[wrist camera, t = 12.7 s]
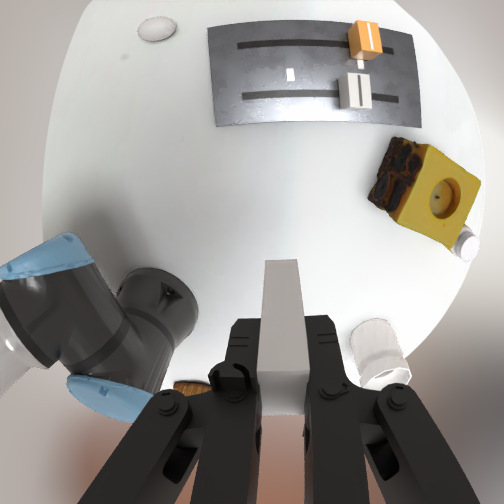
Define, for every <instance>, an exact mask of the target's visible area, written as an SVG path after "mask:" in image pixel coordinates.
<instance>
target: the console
mask: <svg viewBox="0 0 504 504" xmlns="http://www.w3.org/2000/svg"><path fill="white" fill-rule="evenodd" d="M352 25H353V24H352V23H343V22H332V21H316V20H273V21H257V22H246V23H237V24H229V25H222V26H215V27H210V28H207V29H208V42H209V55H210V66H211V78H212V89H213V100H214V110H215V120H216V127H217V126H227V125H237V124H248V123H261V122H278V121H350V122H367V123H380V124H390V125H399V126H408V127H415V128H421V103H420V89H419V79H418V70H417V62H416V55H415V49H414V43H413V38H412V35H411V34H407V33H403V32H398V31H394V30H389V29H384V28H379V27H378V28H379V33H380V39H381V45H382V52H383V53H382V54H380V55H378V56H376V57H375V58H373V59H371V60H363V59H354V58H351V54H350V46H349V39H348V33H347V31H348V30H349V29H350V28H351V26H352ZM346 73H359V74H368V75H369V77H370V87H371V101H372V109H366V110H348V109H340V95H339V83H338V78H340V77H341V76H343V75H344V74H346Z"/></svg>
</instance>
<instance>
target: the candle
mask: <svg viewBox="0 0 504 504" xmlns="http://www.w3.org/2000/svg"><path fill="white" fill-rule="evenodd" d="M377 177H378V181H377V183H376V184H375V186H374V188H373V189H372V190H371V192H370V194H369V197H368V200H369V201H371V202H372V203H373V204H375V205H376V207H378V208H380V209H381V210H386V212H387V213H388V214H389V216H390V217H391V218H392V219H393V220H394V221H395V222H396V223H398V224H399V225H401V226H404V227H406V228H409V229H411V230H414V231H416V232H419V233H421V234H423V235H426V236H428V237H430V238H432V239H434V240H436V241H438V242H440V243H442V244H444V245H446V246H447V247H450V248H452V247H453V246H454V244H455V242H456V240H457V238H458V236H459V234H460V232H461V230H462V227H463V225H464V223H465V221H466V218H467V216H468V214H469V212H470V209H471V207H472V205H473V203H474V201H475V198H476V195H477V193H478V190H479V188H480V185H481V181H480V180H479V179H478V178H477V177H475V176H474V175H472V174H470V173H469V172H467V171H466V170H465V169H463V168H462V167H461V166H459V165H458V164H456V163H455V162H454V161H452V160H451V159H449V158H448V157H447V156H446V155H444V154H443V153H442V152H440V151H439V150H438V149H436V148H435V147H433V146H431V145H429V144H417V143H416V142H415V141H414V142H411V141H409V140H406V139H404V138H398V137H394V138H392V140H391V143H390V145H389V148H388V151H387V153H386V154H385V157H384V159H383V162H382V165H381V167H380V169H379V173H378V174H377Z"/></svg>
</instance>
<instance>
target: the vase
mask: <svg viewBox="0 0 504 504" xmlns="http://www.w3.org/2000/svg"><path fill="white" fill-rule="evenodd" d="M350 344H351V348H352V353H353V356H354V360H355V363H356V366H357V369H358V372H359V374H360V376H361V378H360V384H361V388H365V389H371V390H378V391H381V390H382V388H384V387H385V386H387V385H388V384H392V383H403V384H405V385H407V383H408V382H409V380H410V378H411V377H412V376H411V373H410V370H409V366H408V363H407V361H406V360H405V359H403V352H402V350H401V348H400V346H399V344H398V341H397V338H396V335H395V332H394V330H393V329H392V327H391V326H390V324H389V323H388V322H387V321H386V320H382V319H377V318H376V319H372V320H369V321H365V322H363V323H362V324H361V325H359V326H358V327H357V328H355V329H354V331H353V333H352V335H351V337H350Z"/></svg>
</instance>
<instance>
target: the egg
mask: <svg viewBox="0 0 504 504" xmlns="http://www.w3.org/2000/svg"><path fill="white" fill-rule="evenodd" d="M175 27H176V26H175V23H174V22H173V20H171V19H169V18H167V17H153V18H150V19H147V20H145V21H144V22H143V23H141V24H140V26H139V27H138V30H137V33H138V35H139V37H141V38H142V39H144V40H148V41H158V40H162V39H165V38H167V37H169V36H170V35H171V34H172V33H173V32H174V30H175Z"/></svg>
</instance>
